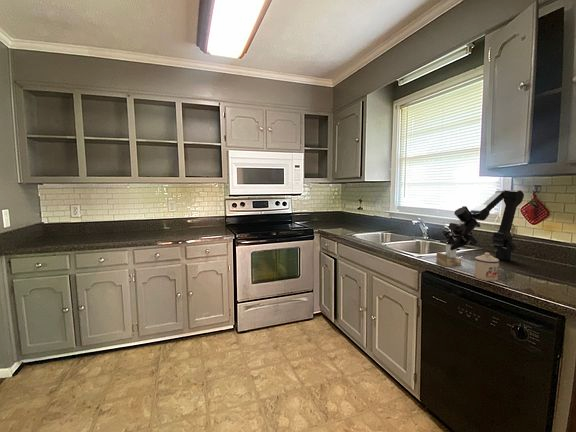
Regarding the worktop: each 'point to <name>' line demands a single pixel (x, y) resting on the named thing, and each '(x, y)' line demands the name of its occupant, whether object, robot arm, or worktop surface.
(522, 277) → the worktop surface
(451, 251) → the white rectangular block
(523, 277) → the worktop surface
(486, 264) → the teacup with lid
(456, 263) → the sleeve
